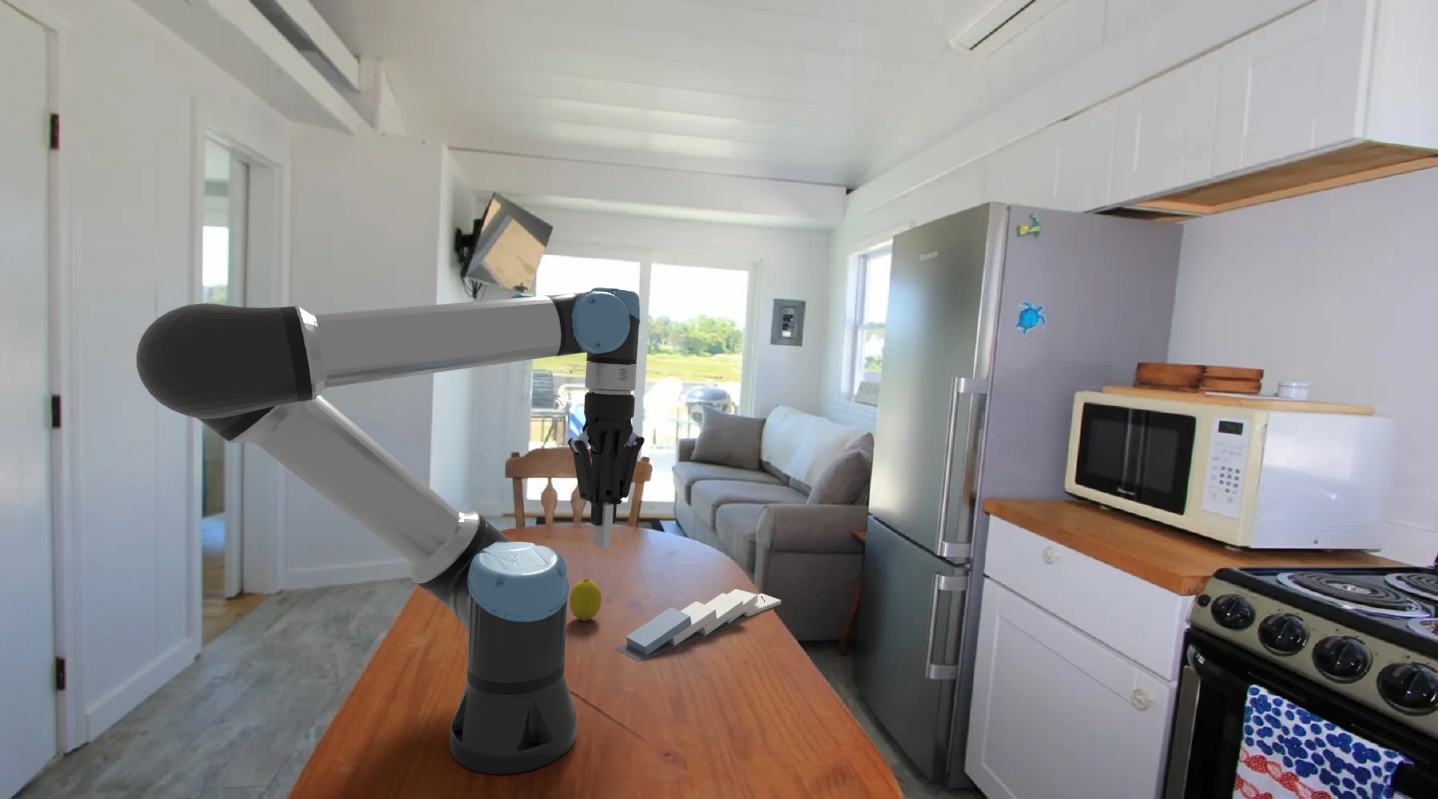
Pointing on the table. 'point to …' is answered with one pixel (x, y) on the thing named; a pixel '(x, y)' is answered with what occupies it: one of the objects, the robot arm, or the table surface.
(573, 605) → the lemon
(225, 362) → the robot arm
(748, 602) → the tile
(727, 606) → the tile
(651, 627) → the blue-grey tile
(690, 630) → the tile
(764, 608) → the tile
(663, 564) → the table surface
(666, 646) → the strip
